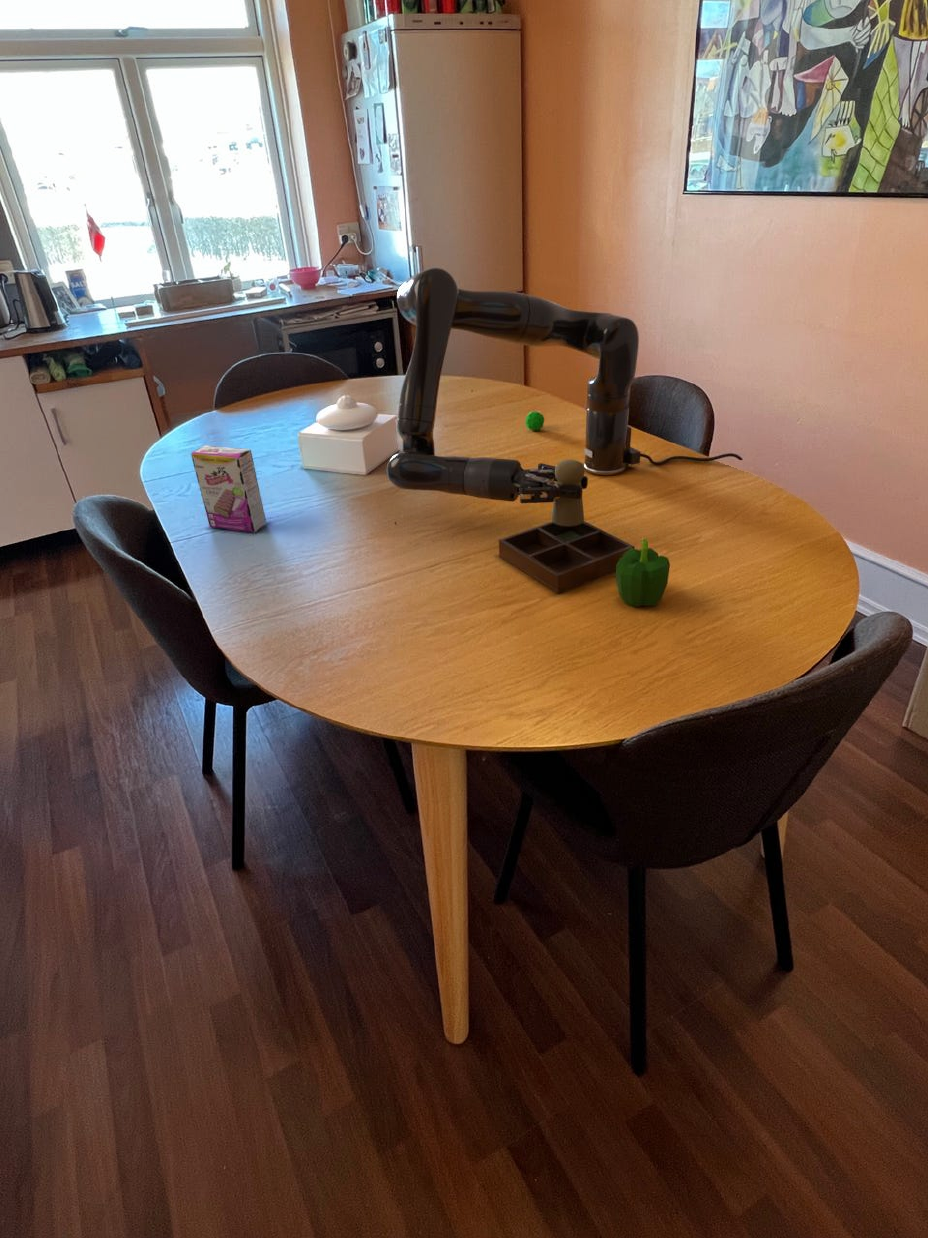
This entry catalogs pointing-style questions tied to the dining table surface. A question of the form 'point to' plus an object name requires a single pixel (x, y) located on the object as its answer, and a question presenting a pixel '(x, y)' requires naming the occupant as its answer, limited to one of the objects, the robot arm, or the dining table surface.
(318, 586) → the dining table surface
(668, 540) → the dining table surface
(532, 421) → the green pom-pom ball
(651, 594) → the bell pepper
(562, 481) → the pawn
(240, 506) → the candy bar box
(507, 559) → the compartment tray
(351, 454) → the butter dish
